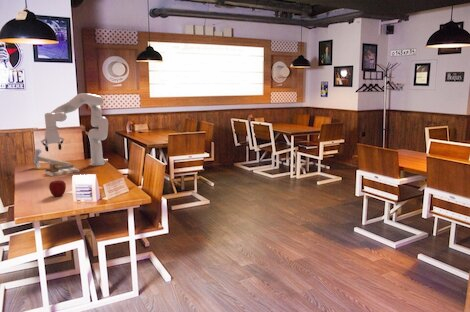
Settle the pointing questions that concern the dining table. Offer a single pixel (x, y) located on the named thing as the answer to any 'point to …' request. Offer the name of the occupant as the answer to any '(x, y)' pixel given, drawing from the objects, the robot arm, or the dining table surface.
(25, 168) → the dining table surface
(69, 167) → the rail
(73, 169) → the board
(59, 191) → the apple
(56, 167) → the brown block with stick
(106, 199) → the dining table surface
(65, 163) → the hammer
